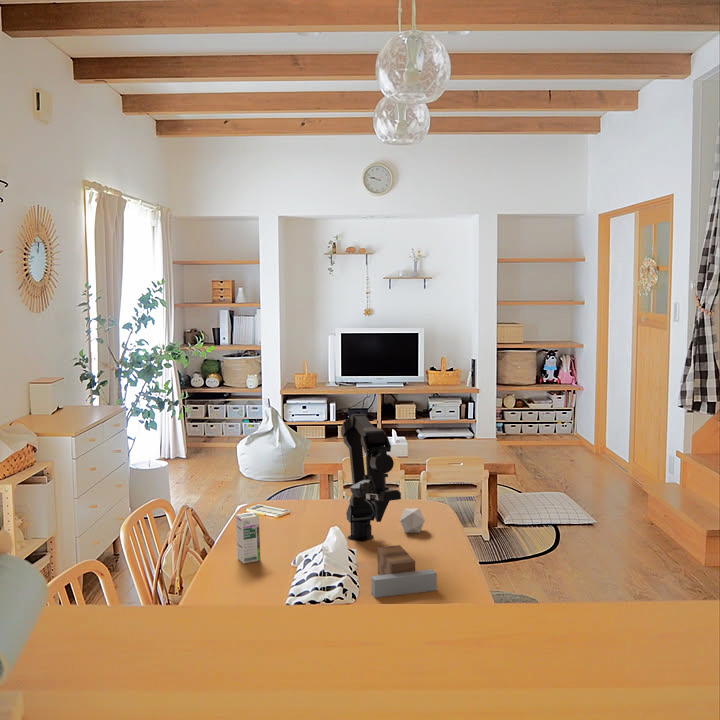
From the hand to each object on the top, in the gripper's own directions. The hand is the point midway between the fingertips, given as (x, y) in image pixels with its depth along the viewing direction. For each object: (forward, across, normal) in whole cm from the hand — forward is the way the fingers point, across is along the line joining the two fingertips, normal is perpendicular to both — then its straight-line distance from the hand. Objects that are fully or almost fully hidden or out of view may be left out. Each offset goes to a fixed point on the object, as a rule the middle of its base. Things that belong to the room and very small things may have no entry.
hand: (378, 521), depth 236 cm
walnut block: (+15, +14, -4) cm, 21 cm away
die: (+8, -19, +25) cm, 33 cm away
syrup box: (+10, -24, -33) cm, 43 cm away
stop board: (+16, +22, -6) cm, 28 cm away
